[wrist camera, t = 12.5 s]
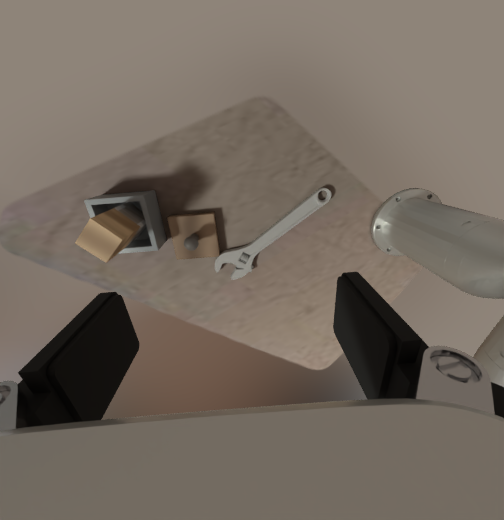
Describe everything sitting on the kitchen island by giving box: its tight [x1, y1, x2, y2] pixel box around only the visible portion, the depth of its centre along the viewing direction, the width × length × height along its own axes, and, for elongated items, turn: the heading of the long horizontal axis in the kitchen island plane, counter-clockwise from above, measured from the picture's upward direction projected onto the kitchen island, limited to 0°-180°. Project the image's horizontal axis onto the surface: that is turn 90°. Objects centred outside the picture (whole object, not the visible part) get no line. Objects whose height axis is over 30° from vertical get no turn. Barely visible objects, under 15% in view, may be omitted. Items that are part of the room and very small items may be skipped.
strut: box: [75, 202, 146, 263], centre depth 36 cm, size 4×4×11 cm
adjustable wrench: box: [215, 188, 331, 280], centre depth 44 cm, size 25×6×2 cm, turn 124°
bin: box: [84, 190, 167, 254], centre depth 39 cm, size 9×9×5 cm
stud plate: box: [167, 212, 220, 260], centre depth 41 cm, size 8×8×6 cm
